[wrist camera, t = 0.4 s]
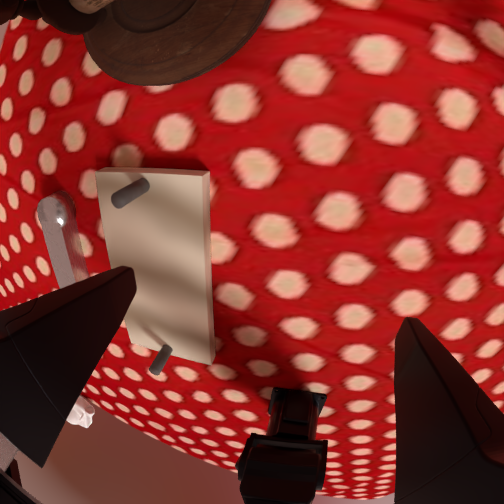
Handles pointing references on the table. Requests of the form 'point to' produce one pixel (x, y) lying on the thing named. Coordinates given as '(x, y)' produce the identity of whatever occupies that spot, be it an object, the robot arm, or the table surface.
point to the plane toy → (81, 413)
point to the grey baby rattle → (62, 238)
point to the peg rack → (162, 256)
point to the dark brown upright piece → (150, 33)
